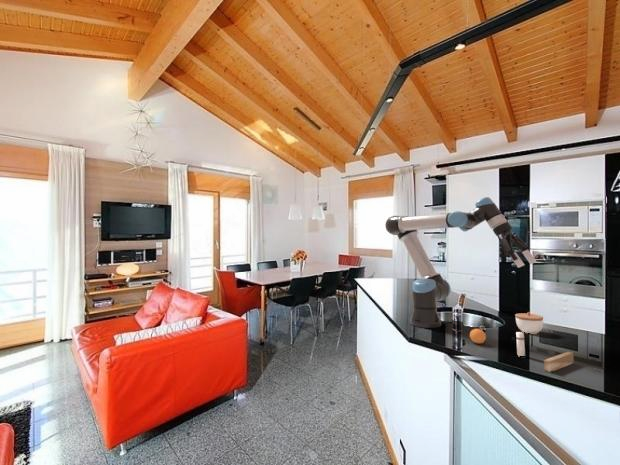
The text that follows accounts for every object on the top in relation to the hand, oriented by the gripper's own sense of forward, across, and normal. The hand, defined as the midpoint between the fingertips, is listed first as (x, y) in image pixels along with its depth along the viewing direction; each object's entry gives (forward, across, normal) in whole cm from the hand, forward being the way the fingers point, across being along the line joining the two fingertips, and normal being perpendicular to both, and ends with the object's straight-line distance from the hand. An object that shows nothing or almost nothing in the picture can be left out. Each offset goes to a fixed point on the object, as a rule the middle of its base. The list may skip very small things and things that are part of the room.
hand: (527, 264), depth 137 cm
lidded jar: (+27, +5, +19) cm, 33 cm away
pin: (+30, -32, +9) cm, 45 cm away
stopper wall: (+36, -34, -2) cm, 49 cm away
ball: (+19, -30, +22) cm, 42 cm away
